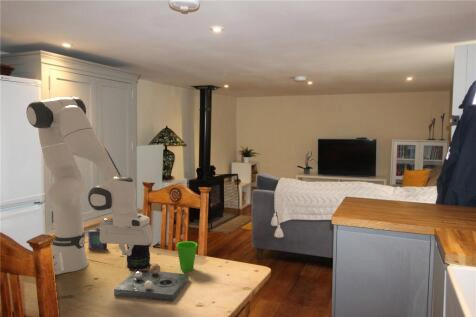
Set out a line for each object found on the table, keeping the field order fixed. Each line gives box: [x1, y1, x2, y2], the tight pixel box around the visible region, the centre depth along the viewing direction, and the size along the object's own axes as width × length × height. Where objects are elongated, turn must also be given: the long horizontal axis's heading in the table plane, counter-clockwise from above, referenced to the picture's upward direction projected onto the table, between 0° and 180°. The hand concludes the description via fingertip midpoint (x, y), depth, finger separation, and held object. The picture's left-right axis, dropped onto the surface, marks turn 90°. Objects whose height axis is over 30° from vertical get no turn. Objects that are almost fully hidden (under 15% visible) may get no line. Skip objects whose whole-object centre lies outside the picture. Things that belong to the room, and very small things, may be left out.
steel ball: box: [134, 271, 143, 280], centre depth 139 cm, size 3×3×3 cm
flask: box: [87, 226, 108, 250], centre depth 180 cm, size 9×3×11 cm, turn 84°
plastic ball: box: [144, 281, 153, 289], centre depth 131 cm, size 3×3×3 cm
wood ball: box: [149, 263, 161, 274], centre depth 144 cm, size 4×4×4 cm
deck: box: [113, 269, 190, 303], centre depth 138 cm, size 22×18×2 cm
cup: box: [175, 240, 199, 273], centre depth 155 cm, size 9×9×11 cm
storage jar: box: [126, 244, 151, 271], centre depth 158 cm, size 10×10×15 cm
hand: (126, 254), depth 138 cm, fingers closed
